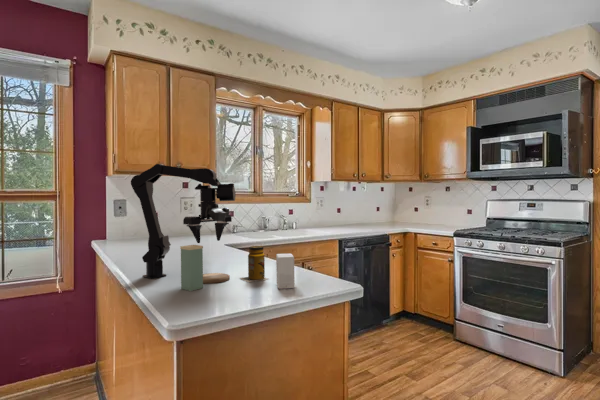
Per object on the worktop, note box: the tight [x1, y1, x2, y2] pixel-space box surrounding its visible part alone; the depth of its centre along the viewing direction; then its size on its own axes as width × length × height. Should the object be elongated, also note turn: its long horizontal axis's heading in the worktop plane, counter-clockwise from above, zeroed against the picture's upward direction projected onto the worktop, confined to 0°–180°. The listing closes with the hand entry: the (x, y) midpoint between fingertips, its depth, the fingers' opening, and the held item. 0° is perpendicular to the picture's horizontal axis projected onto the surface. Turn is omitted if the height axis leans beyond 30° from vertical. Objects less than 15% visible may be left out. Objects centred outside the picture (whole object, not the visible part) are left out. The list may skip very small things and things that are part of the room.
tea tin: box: [179, 244, 204, 292], centre depth 120 cm, size 5×5×14 cm
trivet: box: [203, 272, 231, 285], centre depth 133 cm, size 13×13×1 cm
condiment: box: [240, 245, 269, 283], centre depth 133 cm, size 7×8×12 cm
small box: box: [275, 253, 296, 290], centre depth 122 cm, size 8×6×10 cm
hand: (208, 241), depth 139 cm, fingers open, 9 cm apart
